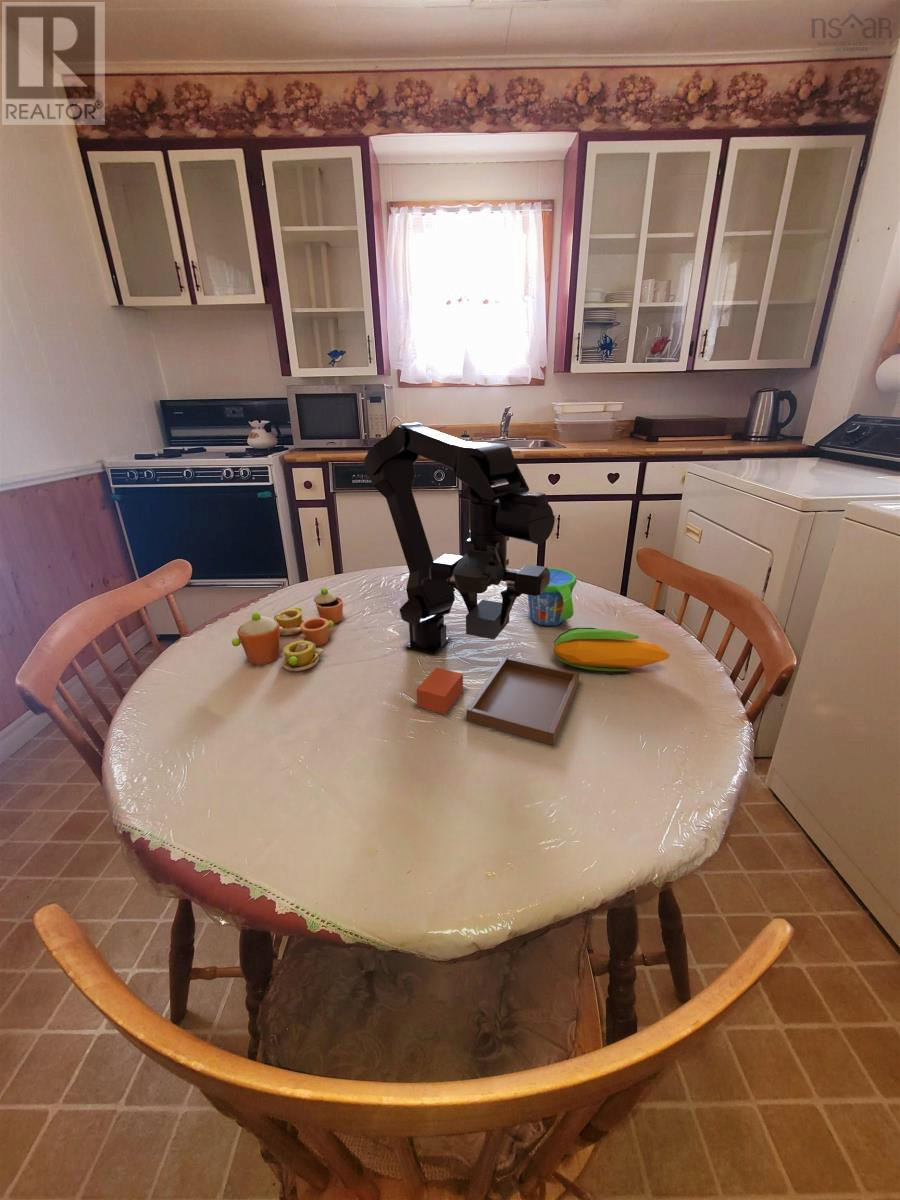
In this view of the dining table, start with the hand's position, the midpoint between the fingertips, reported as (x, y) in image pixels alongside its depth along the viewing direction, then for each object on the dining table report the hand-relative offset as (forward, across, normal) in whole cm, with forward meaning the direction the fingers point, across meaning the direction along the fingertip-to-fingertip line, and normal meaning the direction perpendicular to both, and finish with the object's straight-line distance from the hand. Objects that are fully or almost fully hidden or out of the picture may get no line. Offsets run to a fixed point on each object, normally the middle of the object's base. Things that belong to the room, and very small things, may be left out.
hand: (488, 621), depth 81 cm
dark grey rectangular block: (+1, 0, 0) cm, 1 cm away
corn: (+12, +18, +13) cm, 25 cm away
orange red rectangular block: (+11, -5, -9) cm, 15 cm away
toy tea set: (+11, -40, -3) cm, 42 cm away
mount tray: (+11, +8, -4) cm, 14 cm away
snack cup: (+11, +3, +26) cm, 29 cm away
